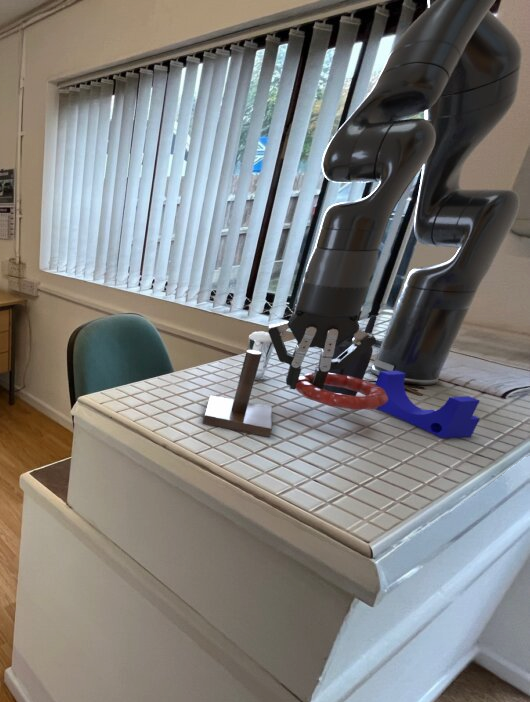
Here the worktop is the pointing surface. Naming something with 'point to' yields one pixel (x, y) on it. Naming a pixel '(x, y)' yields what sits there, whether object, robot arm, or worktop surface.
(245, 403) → the stand
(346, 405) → the ring
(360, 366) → the two-way radio
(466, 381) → the worktop surface
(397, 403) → the cable clip
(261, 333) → the milkshake
